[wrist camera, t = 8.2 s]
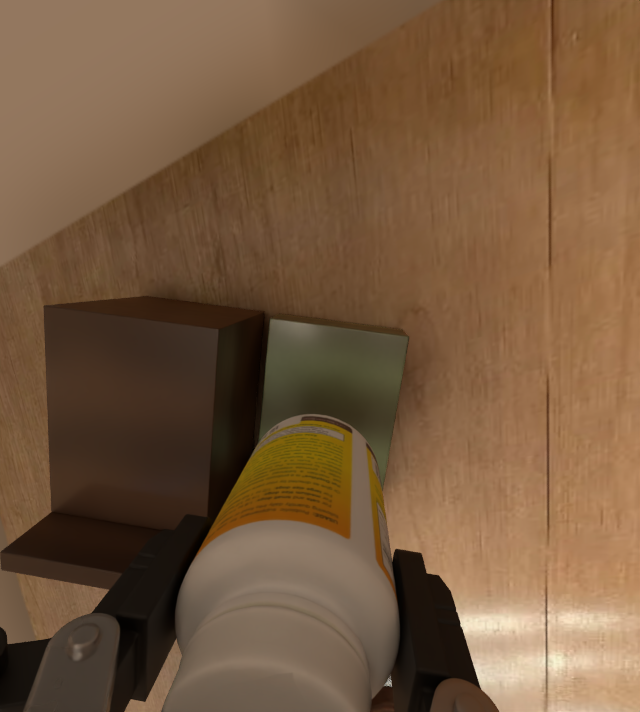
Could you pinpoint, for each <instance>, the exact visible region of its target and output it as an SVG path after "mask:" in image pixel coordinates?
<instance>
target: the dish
mask: <svg viewBox="0 0 640 712" xmlns="http://www.w3.org/2000/svg"><path fill="white" fill-rule="evenodd" d="M370 712H395V711H394V700H393V689H392V687H389V686H384V687H382V689H381V690H380V691H379V692H378V693H377V694H376V696H375V697H374V698H373V699H372V704H371V710H370Z"/></svg>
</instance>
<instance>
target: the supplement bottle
mask: <svg viewBox="0 0 640 712" xmlns="http://www.w3.org/2000/svg"><path fill="white" fill-rule="evenodd" d="M175 631H176V637H177V642H178V645H179V648H180V651H181V654H182V658H181V662H180V666H179V670H178V672H177V675H176V677H175V679H174V681H173V684H172V686H171V688H170V690H169V693H168V695H167V697H166V700H165V702H164V705H163V708H162V711H161V712H370V710H371V704H372V699H373V698H374V697H375V696H376V694H377V693H378V692H379V691H380V690H381V689H382V687H383V686H384V684H385V683H386V681H387V680H388V678H389V676H390V674H391V672H392V670H393V667H394V665H395V662H396V658H397V655H398V650H399V644H400V619H399V608H398V601H397V595H396V587H395V579H394V573H393V565H392V558H391V551H390V543H389V536H388V529H387V521H386V514H385V508H384V500H383V493H382V486H381V479H380V473H379V468H378V463H377V460H376V457H375V454H374V452H373V450H372V448H371V447H370V445H369V443H368V442H367V441H366V439H365V438H364V437H363V436H362V435H361V434H360V433H359V432H358V431H357V430H356V429H354V428H353V427H352V426H350V425H348V424H347V423H345V422H343V421H341V420H339V419H336V418H333V417H330V416H326V415H319V414H305V415H298V416H294V417H291V418H289V419H286V420H284V421H282V422H280V423H278V424H277V425H275V426H274V427H273V428H271V429H270V430H269V431H268V432H267V433H266V434H265V435H264V436H263V438H262V439H261V440H260V442H259V443H258V445H257V446H256V448H255V450H254V452H253V453H252V455H251V457H250V459H249V460H248V462H247V464H246V466H245V468H244V469H243V471H242V473H241V475H240V477H239V479H238V480H237V482H236V484H235V486H234V487H233V489H232V491H231V493H230V495H229V496H228V498H227V500H226V502H225V504H224V505H223V507H222V509H221V511H220V512H219V514H218V516H217V518H216V520H215V522H214V523H213V525H212V527H211V529H210V531H209V533H208V535H207V536H206V538H205V540H204V542H203V544H202V545H201V547H200V549H199V551H198V553H197V554H196V556H195V558H194V560H193V562H192V563H191V565H190V567H189V569H188V571H187V573H186V575H185V577H184V580H183V582H182V584H181V587H180V590H179V593H178V597H177V602H176V608H175Z"/></svg>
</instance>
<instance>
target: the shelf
mask: <svg viewBox="0 0 640 712" xmlns="http://www.w3.org/2000/svg"><path fill="white" fill-rule="evenodd" d="M263 323H264V311H257V310H249V309H241V308H234V307H226V306H218V305H211V304H203V303H195V302H188V301H180V300H172V299H165V298H157V297H149V296H142V297H131V298H121V299H110V300H99V301H88V302H77V303H67V304H56V305H45V306H44V329H45V356H46V383H47V409H48V436H49V462H50V489H51V511H52V512H51V513H50V514H49V515H47V516H46V517H45V518H43V519H42V520H41V521H40V522H38V523H37V524H36V525H34V526H33V527H32V528H31V529H29V530H28V531H27V532H25V533H24V534H23V535H22V536H20V537H19V538H18V539H16V540H15V541H14V542H13V543H11V544H10V545H9V546H7V547H6V548H5V549H4V550H2V551H1V552H0V559H1V569H2V570H4V571H10V572H15V573H20V574H26V575H31V576H37V577H42V578H48V579H54V580H59V581H65V582H70V583H76V584H81V585H87V586H92V587H98V588H103V589H109V590H110V589H111V588H112V586H113V585H114V584H115V582H116V581H117V580H118V579H119V577H120V576H121V575H122V573H123V572H124V571H125V570H126V568H128V567H129V564H130V563H131V562H132V561H133V559H134V558H135V557H136V556H138V553H139V552H140V550H141V549H142V548H143V546H144V545H145V544H146V543H147V541H148V540H149V539H150V538H152V537H153V536H155V535H156V534H158V533H159V532H161V531H162V530H164V529H169V530H175V529H176V527H177V526H178V524H179V523H180V522H181V520H182V519H183V517H184V516H185V515H186V514H191V515H197V516H203V517H209V518H211V520H212V525H213V523H214V522H215V520H216V518H217V516H218V514H219V512H220V511H221V509H222V507H223V505H224V504H225V502H226V500H227V498H228V496H229V495H230V493H231V491H232V489H233V487H234V486H235V484H236V482H237V480H238V479H239V477H240V475H241V473H242V471H243V469H244V468H245V466H246V464H247V462H248V460H249V459H250V457H251V455H252V448H253V437H254V426H255V414H256V403H257V391H258V380H259V369H260V357H261V346H262V335H263ZM408 341H409V336H408V335H407V334H406V333H405V332H404V331H403V330H402V329H394V328H387V327H379V326H371V325H364V324H356V323H348V322H341V321H333V320H325V319H318V318H310V317H302V316H295V315H287V314H278V315H276V316H274V317H272V318H270V321H269V332H268V343H267V354H266V365H265V376H264V386H263V397H262V408H261V419H260V430H259V441H258V443H259V442H260V440H261V439H262V438H263V436H264V435H265V434H266V433H267V432H268V431H269V430H270V429H271V428H273V427H274V426H275V425H277V424H278V423H280V422H282V421H284V420H286V419H289V418H291V417H294V416H298V415H305V414H319V415H326V416H330V417H333V418H336V419H339V420H341V421H343V422H345V423H347V424H348V425H350V426H352V427H353V428H354V429H356V430H357V431H358V432H359V433H360V434H361V435H362V436H363V437H364V438H365V439H366V441H367V442H368V443H369V445H370V447H371V448H372V450H373V452H374V454H375V457H376V460H377V463H378V468H379V473H380V479H381V486H382V491H383V486H384V480H385V474H386V468H387V463H388V457H389V451H390V445H391V440H392V434H393V428H394V422H395V416H396V411H397V405H398V399H399V393H400V388H401V382H402V376H403V370H404V364H405V359H406V353H407V347H408Z"/></svg>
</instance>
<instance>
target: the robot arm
mask: <svg viewBox="0 0 640 712" xmlns="http://www.w3.org/2000/svg"><path fill="white" fill-rule="evenodd" d="M211 527H212V520H211V518H209V517H203V516H197V515H191V514H186V515H185V516H184V517H183V519H182V520H181V522H180V523H179V524H178V526H177V527H176V529H175V530H169V529H164V530H162V531H161V532H159V533H158V534H156V535H155V536H153V537H152V538H150V539H149V540H148V541H147V543H146V544H145V545H144V546H143V548H142V549H141V550H140V552H139V553H138V556H136V557H135V558H134V559H133V561H132V562H131V563H130V564H129V567H128V568H126V570H125V571H124V572H123V573H122V575H121V576H120V577H119V579H118V580H117V581H116V582H115V584H114V585H113V586H112V588H111V589H110V590H109V591H108V593H107V594H106V595H105V597H104V598H103V599H102V600H101V602H100V603H99V604H98V606H97V607H96V608H95V609H94V611H93V612H92V613H91V614H87V615H84V616H81V617H78V618H76V619H74V620H72V621H71V622H69V623H67V624H66V625H65V626H63V627H62V628H61V629H60V630H59V631H58V632H57V633H56V634H55V635H54V636H53V637H52V638H49V639H44V640H37V641H30V642H22V643H15V644H7V635H6V632H5V631H4V630H3V629H2V628H1V627H0V712H124V711H125V709H126V707H127V705H128V703H129V701H130V699H134V700H139V701H144V702H145V701H146V699H147V697H148V695H149V693H150V691H151V689H152V687H153V685H154V683H155V681H156V679H157V677H158V675H159V673H160V670H161V668H162V666H163V664H164V662H165V660H166V658H167V656H168V654H169V652H170V650H171V648H172V646H173V644H174V642H175V640H176V638H177V637H176V631H175V608H176V602H177V597H178V593H179V590H180V587H181V584H182V582H183V580H184V577H185V575H186V573H187V571H188V569H189V567H190V565H191V563H192V562H193V560H194V558H195V556H196V554H197V553H198V551H199V549H200V547H201V545H202V544H203V542H204V540H205V538H206V536H207V535H208V533H209V531H210V529H211ZM392 565H393V573H394V579H395V587H396V595H397V601H398V608H399V619H400V644H399V650H398V655H397V658H396V662H395V665H394V667H393V670H392V672H391V679H392V689H393V700H394V711H395V712H499V710H498V709H497V707H496V706H495V704H494V703H493V701H492V700H491V699H490V698H489V697H488V696H487V695H486V694H485V693H484V692H483V691H482V690H481V688H480V685H479V682H478V679H477V676H476V672H475V669H474V666H473V662H472V659H471V656H470V653H469V649H468V646H467V643H466V640H465V636H464V633H463V630H462V627H461V626H460V624H461V623H460V620H459V617H458V613H457V612H456V607H455V604H454V600H453V597H452V594H451V591H450V590H449V588H448V587H447V586H446V584H445V583H444V582H443V580H442V579H441V578H440V576H439V575H433V574H427V573H426V569H425V565H424V561H423V557H422V554H421V553H418V552H412V551H406V550H400V549H396V550H395V552H394V556H393V561H392Z"/></svg>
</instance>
